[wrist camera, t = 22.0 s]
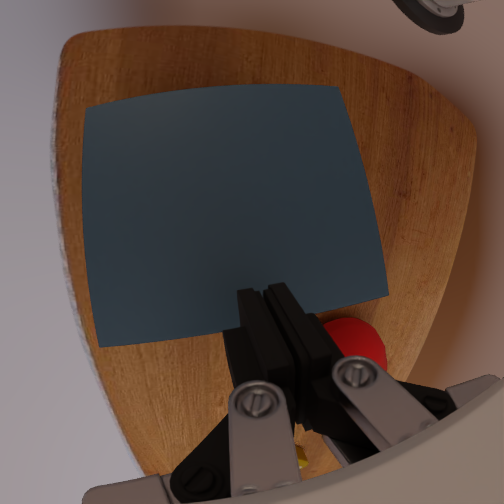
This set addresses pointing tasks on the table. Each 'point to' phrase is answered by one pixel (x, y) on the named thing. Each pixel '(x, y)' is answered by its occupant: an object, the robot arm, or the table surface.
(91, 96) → the table surface
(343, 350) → the tomato
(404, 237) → the table surface
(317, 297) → the lid
